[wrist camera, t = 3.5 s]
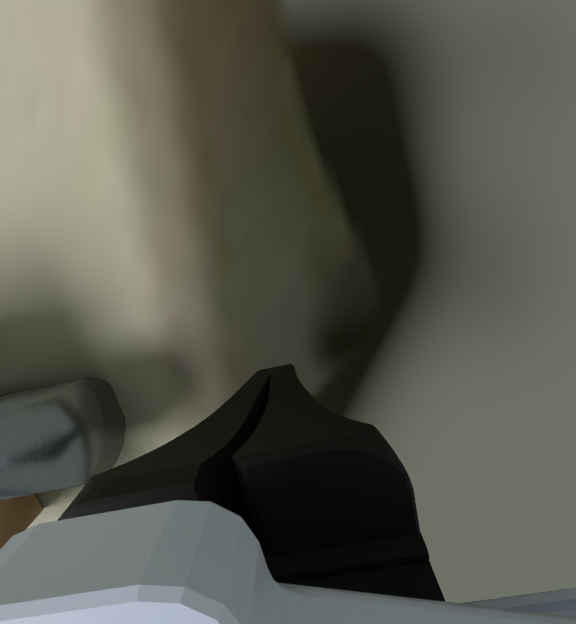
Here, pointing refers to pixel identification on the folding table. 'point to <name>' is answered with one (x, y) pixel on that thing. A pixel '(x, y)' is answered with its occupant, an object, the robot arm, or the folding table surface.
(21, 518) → the beam
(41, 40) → the folding table surface
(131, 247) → the folding table surface
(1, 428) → the axle
